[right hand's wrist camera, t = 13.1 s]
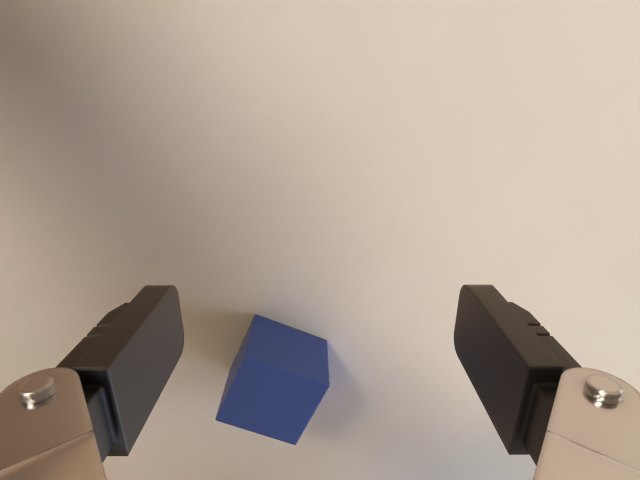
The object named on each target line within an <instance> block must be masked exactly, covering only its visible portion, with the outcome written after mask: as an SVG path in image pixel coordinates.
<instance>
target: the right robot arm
mask: <svg viewBox="0 0 640 480" xmlns="http://www.w3.org/2000/svg"><path fill="white" fill-rule="evenodd" d="M183 345H184V331H183V324H182V317H181V310H180V303H179V296H178V291H177V289H176V287H175V286H173V285H147V286H145V287H144V288H143V289H142V290H141V291H140V292H139V293H138V294H137V295H136V296H135V297H134V299H133V300H132V301H131V302H130V303H124V304H123V305H121V306H119V307H117V308H116V309H114V310H112V311H111V312H109V313H108V314H107V315H106V316H105V317H104V318H103V319H102V320H101V321H100V322H99V323H98V324H97V327H94V328H93V329H92V330H91V331H90V332H89V333H88V334H87V337H84V338H83V339H82V341H81V342H80V343H79V344H78V345H77V346H76V347H75V348H74V349H73V350H72V351H71V352H70V353H69V354H68V355H67V356H66V357H65V358H64V359H63V360H62V361H61V362H60V363H59V364H58V365H57V367H56V368H49V369H44V370H41V371H37V372H34V373H32V374H29V375H27V376H25V377H22V378H20V379H19V380H17V381H15V382H14V383H12V384H10V385H9V386H8V387H6V388H5V389H4V390H3V391H2V392H1V393H0V480H107V478H106V475H105V471H104V467H103V462H104V460H105V458H106V456H128V455H129V453H130V451H131V449H132V447H133V445H134V443H135V441H136V439H137V438H138V436H139V434H140V432H141V430H142V428H143V426H144V424H145V422H146V421H147V419H148V417H149V415H150V413H151V411H152V409H153V407H154V405H155V404H156V402H157V400H158V398H159V396H160V394H161V392H162V390H163V388H164V387H165V385H166V383H167V381H168V379H169V377H170V375H171V373H172V371H173V370H174V368H175V366H176V364H177V362H178V360H179V358H180V356H181V354H182V350H183ZM454 345H455V350H456V353H457V356H458V358H459V360H460V361H461V363H462V365H463V367H464V369H465V371H466V373H467V375H468V377H469V379H470V381H471V383H472V384H473V386H474V388H475V390H476V392H477V394H478V396H479V398H480V400H481V402H482V404H483V405H484V407H485V409H486V411H487V413H488V415H489V417H490V419H491V421H492V423H493V425H494V426H495V428H496V430H497V432H498V434H499V436H500V438H501V440H502V442H503V444H504V446H505V448H506V449H507V451H508V453H509V455H530V456H531V457H532V459H533V461H534V462H535V464H536V466H537V467H536V471H535V475H534V478H533V480H640V393H639V392H638V391H637V390H636V389H635V388H634V387H632V386H631V385H630V384H628V383H626V382H625V381H623V380H621V379H620V378H618V377H615V376H613V375H611V374H608V373H606V372H603V371H599V370H596V369H591V368H582V367H581V366H580V365H579V364H578V363H577V362H576V361H575V360H574V359H573V357H572V356H571V355H570V354H569V353H568V352H567V351H566V350H565V349H564V348H563V347H562V346H561V345H560V344H559V343H558V342H557V341H556V340H555V339H554V338H553V336H550V333H549V332H548V331H547V330H546V329H545V328H544V327H543V326H541V325H540V323H539V322H538V321H537V320H536V319H535V318H534V317H533V316H532V314H531V313H530V312H528V311H526V310H525V309H523V308H521V307H520V306H518V305H516V304H514V303H513V302H507V301H506V300H505V299H504V297H503V296H502V295H501V294H500V293H499V292H498V291H497V290H496V288H495V287H494V286H492V285H463V286H462V288H461V290H460V295H459V302H458V309H457V316H456V323H455V330H454Z"/></svg>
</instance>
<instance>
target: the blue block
mask: <svg viewBox="0 0 640 480" xmlns="http://www.w3.org/2000/svg"><path fill="white" fill-rule="evenodd" d="M328 388H329V370H328V352H327V341H326V340H324V339H321V338H319V337H316V336H313V335H310V334H308V333H305V332H302V331H299V330H297V329H294V328H291V327H289V326H286V325H283V324H280V323H278V322H275V321H272V320H269V319H267V318H264V317H261V316H258V315H255V316H254V318H253V320H252V322H251V325H250V327H249V329H248V331H247V333H246V336H245V338H244V340H243V342H242V345H241V347H240V349H239V351H238V353H237V356H236V358H235V360H234V362H233V365H232V367H231V369H230V371H229V375H228V378H227V382H226V385H225V389H224V392H223V395H222V399H221V402H220V406H219V409H218V413H217V416H216V420H217V421H220V422H223V423H226V424H229V425H233V426H236V427H239V428H242V429H245V430H249V431H252V432H255V433H258V434H261V435H265V436H268V437H271V438H274V439H277V440H281V441H284V442H287V443H290V444H293V445H296V443H297V442H298V440H299V438H300V436H301V435H302V433H303V431H304V429H305V428H306V426H307V424H308V422H309V421H310V419H311V417H312V415H313V414H314V412H315V410H316V409H317V407H318V405H319V403H320V402H321V400H322V398H323V396H324V395H325V393H326V391H327V389H328Z"/></svg>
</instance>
